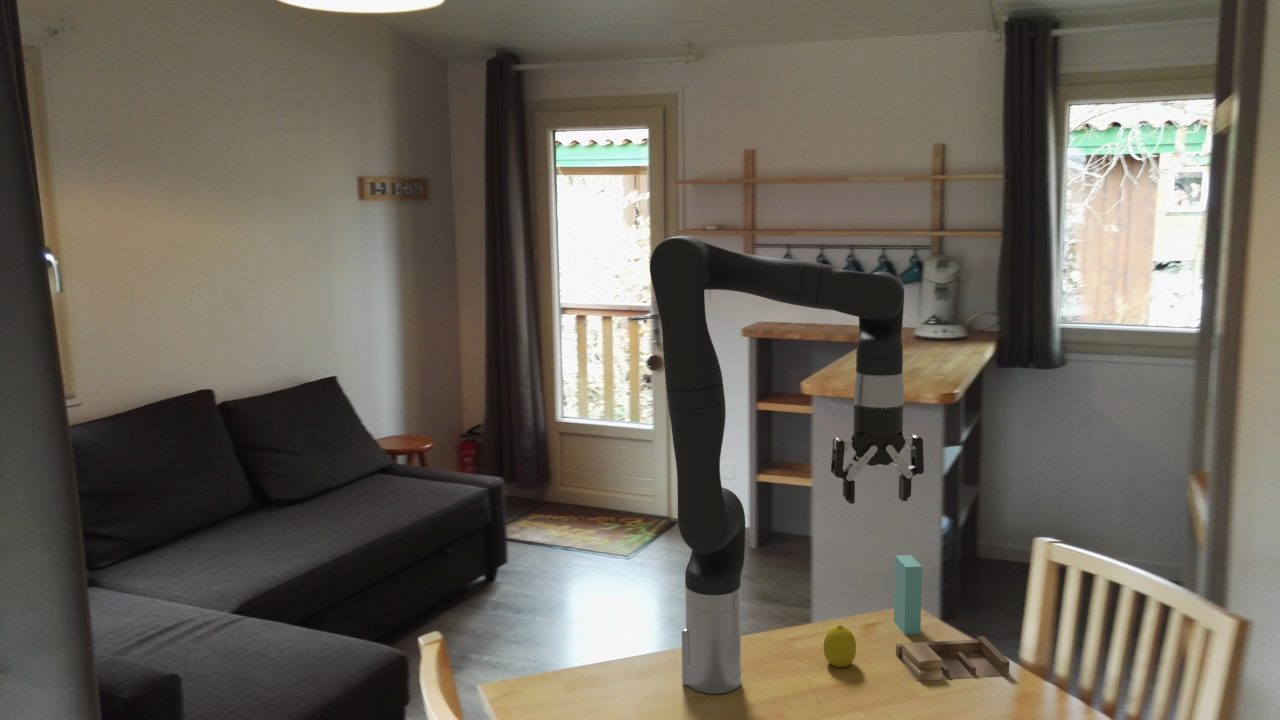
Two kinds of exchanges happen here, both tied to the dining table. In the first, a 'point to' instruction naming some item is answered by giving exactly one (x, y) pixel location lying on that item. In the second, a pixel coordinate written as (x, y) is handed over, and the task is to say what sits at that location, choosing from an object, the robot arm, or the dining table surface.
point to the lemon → (839, 646)
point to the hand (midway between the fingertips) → (876, 501)
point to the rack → (966, 659)
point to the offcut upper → (922, 655)
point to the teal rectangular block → (907, 594)
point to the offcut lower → (923, 671)
